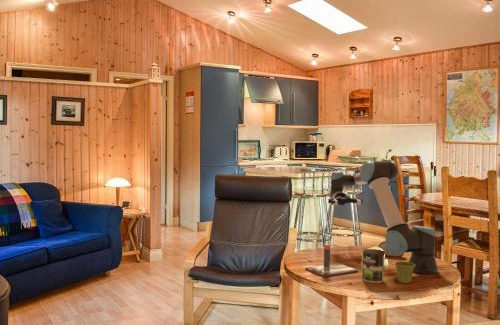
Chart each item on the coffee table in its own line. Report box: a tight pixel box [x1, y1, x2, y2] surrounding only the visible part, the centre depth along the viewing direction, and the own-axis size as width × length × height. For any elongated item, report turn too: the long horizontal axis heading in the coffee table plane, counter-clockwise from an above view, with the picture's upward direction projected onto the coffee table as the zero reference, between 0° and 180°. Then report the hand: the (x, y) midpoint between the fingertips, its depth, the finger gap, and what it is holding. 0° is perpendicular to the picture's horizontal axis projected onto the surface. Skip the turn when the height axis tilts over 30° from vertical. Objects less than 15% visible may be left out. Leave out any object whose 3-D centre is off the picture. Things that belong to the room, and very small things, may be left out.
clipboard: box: [304, 262, 359, 278], centre depth 256 cm, size 16×22×2 cm
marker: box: [323, 243, 332, 271], centre depth 253 cm, size 3×3×13 cm
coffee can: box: [361, 248, 385, 284], centre depth 241 cm, size 10×10×14 cm
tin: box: [378, 240, 405, 258], centre depth 290 cm, size 15×3×8 cm, turn 69°
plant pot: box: [394, 261, 415, 284], centre depth 239 cm, size 9×9×9 cm
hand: (348, 203), depth 281 cm, fingers open, 13 cm apart
